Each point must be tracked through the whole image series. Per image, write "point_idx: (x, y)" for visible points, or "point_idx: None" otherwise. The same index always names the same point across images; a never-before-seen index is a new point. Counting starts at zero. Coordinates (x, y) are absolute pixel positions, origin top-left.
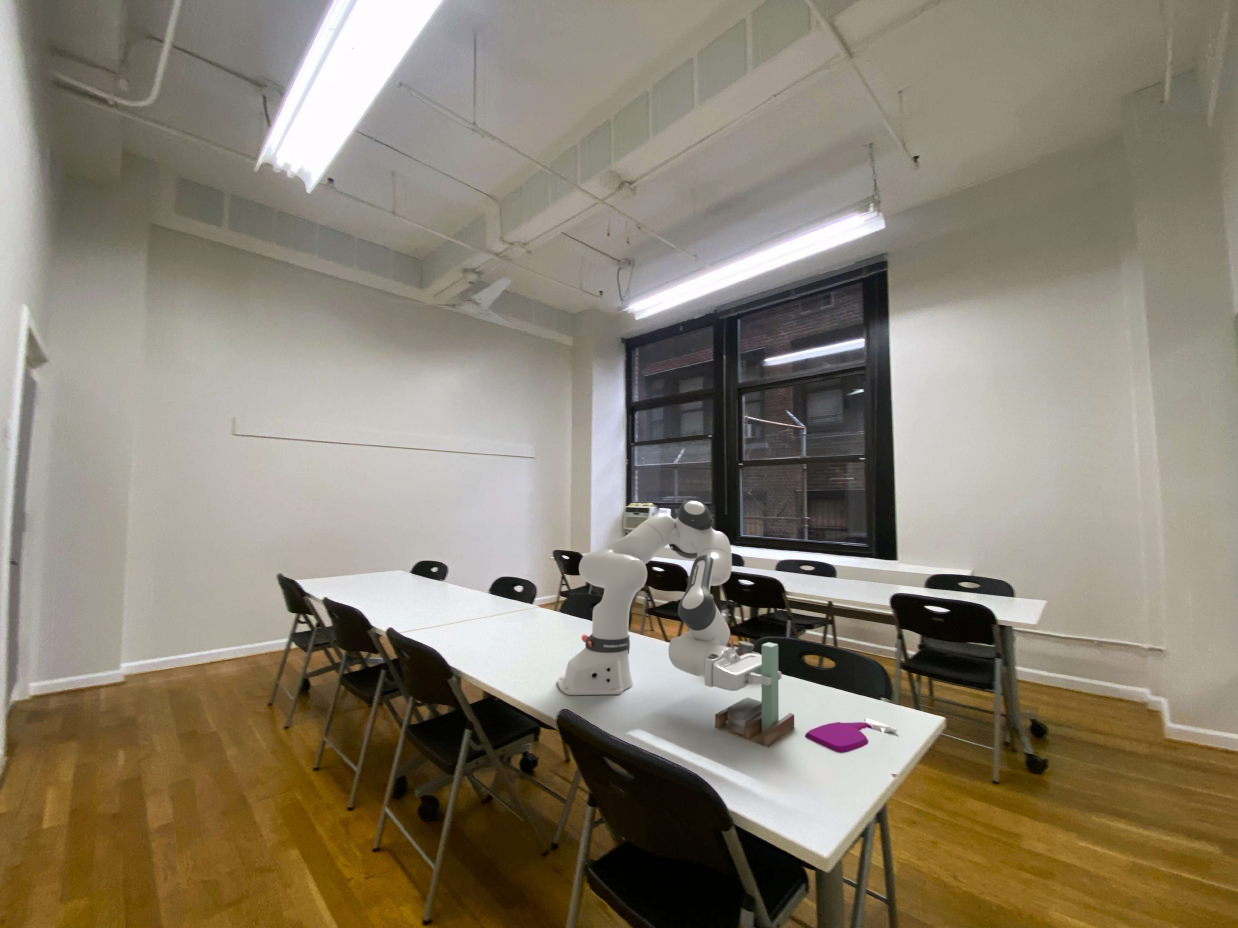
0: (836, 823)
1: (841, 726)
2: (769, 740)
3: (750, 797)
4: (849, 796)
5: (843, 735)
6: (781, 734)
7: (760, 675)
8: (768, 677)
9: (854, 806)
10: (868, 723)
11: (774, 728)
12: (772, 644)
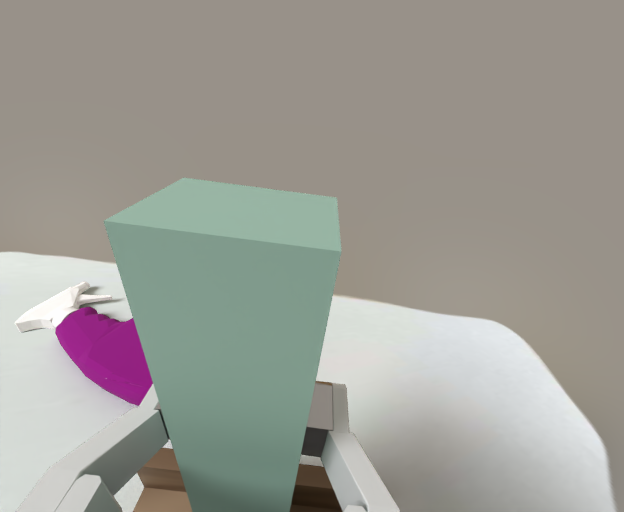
0: (447, 323)
1: (125, 345)
2: None
3: (552, 446)
4: (374, 320)
5: None
6: None
7: (351, 446)
8: (340, 386)
9: (391, 313)
10: (72, 311)
11: (318, 467)
12: (218, 198)
